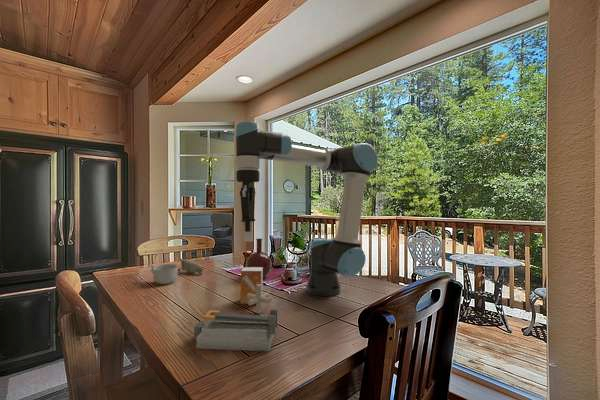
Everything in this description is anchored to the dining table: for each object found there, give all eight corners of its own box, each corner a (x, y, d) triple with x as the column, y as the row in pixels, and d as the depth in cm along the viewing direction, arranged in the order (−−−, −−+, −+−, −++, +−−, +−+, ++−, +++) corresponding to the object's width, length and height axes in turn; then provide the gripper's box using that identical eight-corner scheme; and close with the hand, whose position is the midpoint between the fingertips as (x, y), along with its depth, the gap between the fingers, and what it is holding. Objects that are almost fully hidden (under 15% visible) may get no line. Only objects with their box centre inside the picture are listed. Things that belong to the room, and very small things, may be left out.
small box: (240, 304, 112) (240, 270, 112) (242, 298, 118) (243, 266, 118) (261, 304, 112) (261, 270, 112) (262, 298, 119) (263, 266, 119)
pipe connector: (260, 320, 97) (260, 290, 97) (238, 314, 103) (238, 285, 103) (278, 311, 106) (278, 283, 106) (257, 305, 111) (257, 279, 111)
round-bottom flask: (246, 274, 156) (247, 237, 156) (271, 273, 158) (271, 237, 158) (244, 281, 143) (245, 240, 143) (271, 280, 145) (272, 240, 145)
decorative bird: (197, 276, 152) (197, 262, 152) (175, 273, 159) (175, 259, 159) (205, 274, 156) (205, 260, 156) (183, 270, 164) (183, 257, 164)
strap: (276, 318, 86) (276, 314, 86) (273, 326, 81) (274, 321, 81) (209, 313, 87) (210, 308, 87) (203, 320, 82) (203, 315, 82)
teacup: (182, 282, 141) (182, 265, 141) (161, 287, 132) (161, 270, 132) (165, 277, 148) (165, 262, 148) (144, 282, 139) (144, 266, 139)
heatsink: (278, 331, 90) (278, 305, 90) (273, 351, 78) (273, 321, 78) (204, 328, 91) (205, 303, 91) (188, 348, 79) (188, 318, 79)
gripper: (241, 171, 102) (242, 238, 103) (231, 168, 89) (232, 244, 90) (262, 171, 102) (263, 238, 102) (255, 167, 89) (256, 244, 89)
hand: (248, 241), depth 96 cm, fingers closed
